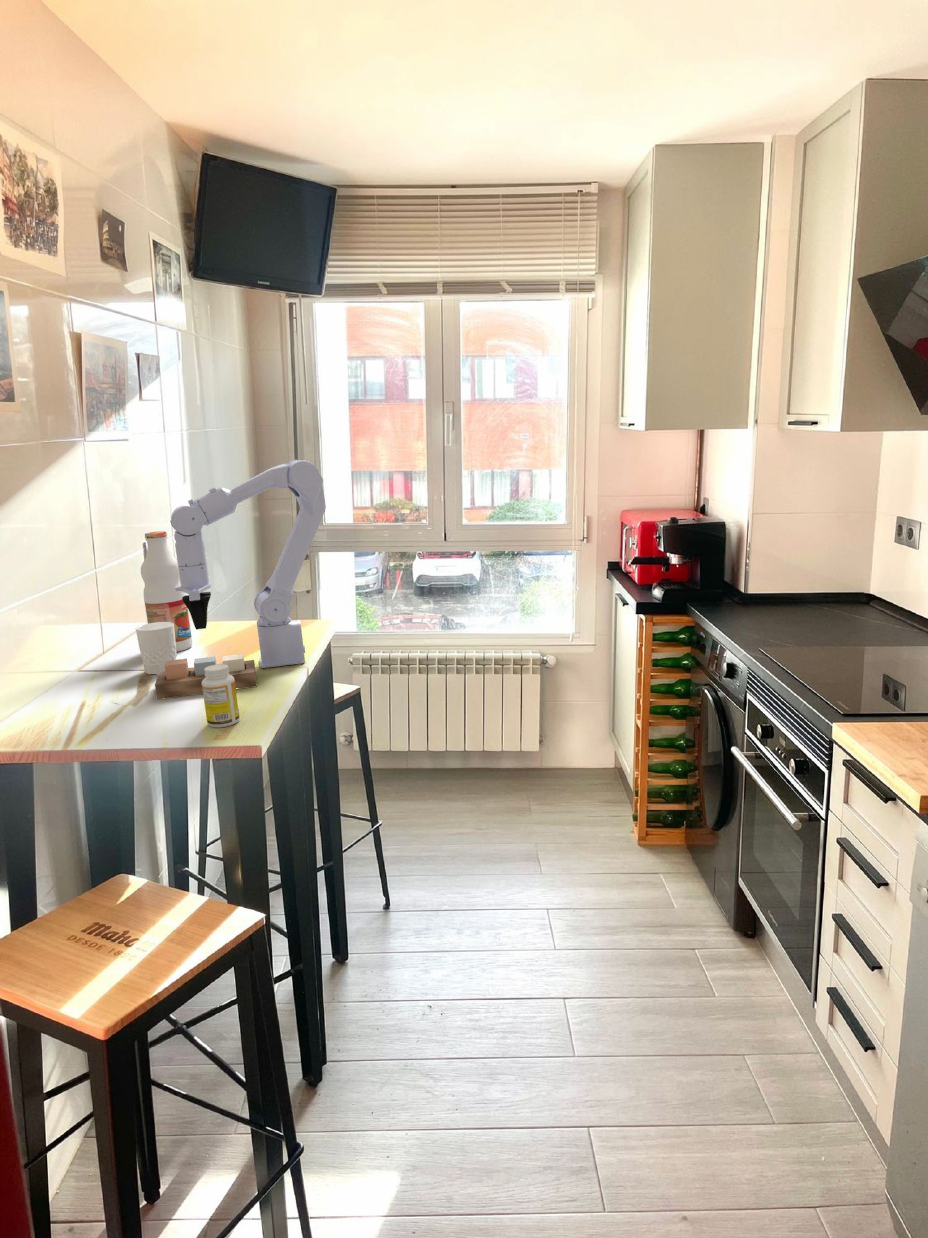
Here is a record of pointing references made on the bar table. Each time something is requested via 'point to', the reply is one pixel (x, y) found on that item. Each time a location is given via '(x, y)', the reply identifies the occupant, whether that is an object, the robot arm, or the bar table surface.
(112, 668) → the bar table surface
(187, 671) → the salmon orange cube
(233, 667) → the off-white cube
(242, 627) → the bar table surface
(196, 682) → the wooden tray
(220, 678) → the supplement bottle
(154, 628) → the white cup
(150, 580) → the fruit juice
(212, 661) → the light blue cube
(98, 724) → the bar table surface
